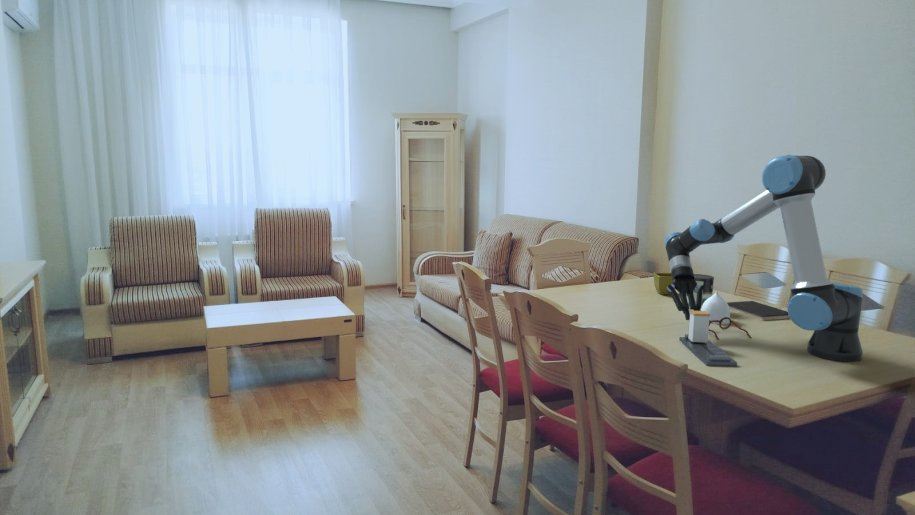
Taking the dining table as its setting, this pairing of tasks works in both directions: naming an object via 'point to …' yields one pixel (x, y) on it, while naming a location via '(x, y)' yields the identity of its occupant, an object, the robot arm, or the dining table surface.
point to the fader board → (708, 352)
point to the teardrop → (717, 308)
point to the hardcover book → (758, 310)
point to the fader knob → (699, 326)
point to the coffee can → (708, 287)
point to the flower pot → (662, 282)
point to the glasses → (726, 327)
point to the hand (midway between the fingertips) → (693, 327)
